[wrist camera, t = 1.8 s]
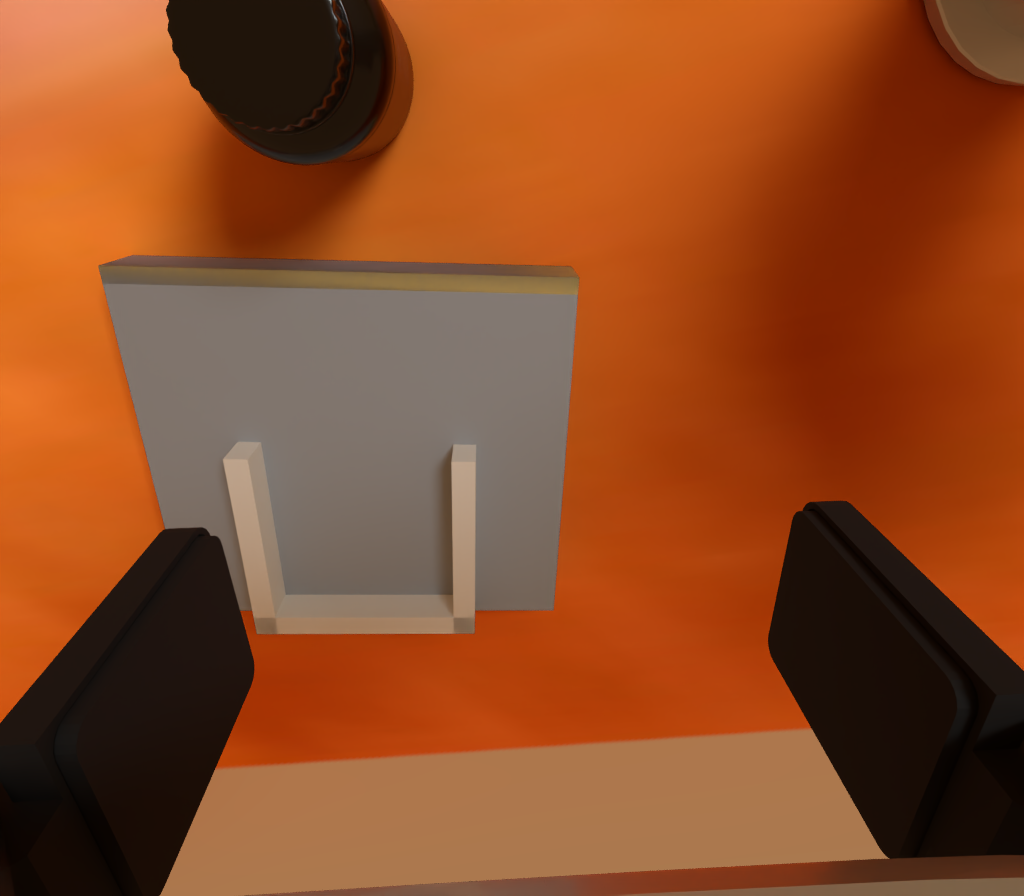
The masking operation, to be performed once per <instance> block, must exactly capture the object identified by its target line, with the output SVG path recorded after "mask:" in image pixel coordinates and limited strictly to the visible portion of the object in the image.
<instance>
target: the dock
mask: <svg viewBox="0 0 1024 896" xmlns="http://www.w3.org/2000/svg"><path fill="white" fill-rule="evenodd" d="M98 267H99V271H100V275H101V279H102V283H103V286H104V290H105V294H106V298H107V302H108V306H109V310H110V314H111V318H112V322H113V326H114V330H115V334H116V337H117V341H118V345H119V349H120V353H121V357H122V361H123V365H124V369H125V373H126V377H127V381H128V385H129V389H130V392H131V396H132V400H133V404H134V408H135V412H136V416H137V420H138V424H139V428H140V432H141V436H142V440H143V443H144V447H145V451H146V455H147V459H148V463H149V467H150V471H151V475H152V479H153V483H154V487H155V491H156V495H157V498H158V502H159V506H160V510H161V514H162V518H163V522H164V526H165V529H169V528H194V527H203V528H205V529H207V531H208V532H209V533H210V536H217V537H219V539H220V540H221V543H222V546H223V550H224V553H225V557H226V561H227V564H228V568H229V572H230V575H231V579H232V583H233V586H234V590H235V594H236V597H237V601H238V605H239V608H240V611H252V612H253V617H254V622H255V627H256V632H257V634H475V610H554V598H555V585H556V572H557V559H558V546H559V533H560V520H561V507H562V494H563V481H564V468H565V455H566V442H567V429H568V416H569V403H570V390H571V377H572V364H573V351H574V338H575V325H576V312H577V299H578V286H579V277H578V275H577V274H576V272H575V271H574V270H573V268H572V267H571V266H533V265H494V264H455V263H415V262H376V261H337V260H297V259H258V258H219V257H179V256H140V255H132V256H128V257H125V258H122V259H119V260H115V261H112V262H109V263H106V264H102V265H99V266H98Z"/></svg>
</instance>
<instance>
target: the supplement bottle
mask: <svg viewBox="0 0 1024 896" xmlns="http://www.w3.org/2000/svg"><path fill="white" fill-rule="evenodd" d="M166 12H167V16H168V19H169V23H168V32H169V34H170V36H171V38H172V42H173V44H172V48H173V51H174V53H175V54H176V56H177V57H178V58H179V64H180V68H181V70H182V71H183V72H184V73H185V74H186V75H187V76H188V78H189V81H190V84H191V86H192V87H193V88H195V89H196V90H198V91H199V92H200V94H201V96H202V98H203V100H204V101H205V103H206V104H207V105H208V107H209V108H210V110H211V111H212V113H213V114H214V115H215V117H216V118H217V119H218V120H219V122H220V123H221V124H222V125H223V126H224V127H225V128H226V129H227V130H228V131H229V132H230V133H231V134H232V135H234V136H235V137H236V138H237V139H238V140H240V141H241V142H242V143H243V144H245V145H246V146H248V147H249V148H251V149H253V150H254V151H256V152H258V153H260V154H262V155H264V156H267V157H269V158H271V159H274V160H278V161H281V162H285V163H290V164H297V165H320V164H328V163H336V162H345V161H353V160H357V159H361V158H365V157H368V156H370V155H372V154H375V153H377V152H378V151H380V150H381V149H383V148H384V147H385V146H387V145H388V144H389V143H390V142H391V141H392V140H393V139H394V138H395V136H396V135H397V134H398V133H399V131H400V130H401V128H402V126H403V124H404V123H405V121H406V118H407V116H408V113H409V110H410V107H411V102H412V97H413V81H414V80H413V68H412V62H411V58H410V54H409V51H408V48H407V45H406V42H405V40H404V38H403V35H402V33H401V32H400V30H399V28H398V26H397V24H396V22H395V21H394V19H393V18H392V16H391V15H390V13H389V12H388V10H387V8H386V7H385V5H384V4H383V2H382V1H381V0H169V3H168V5H167V8H166Z"/></svg>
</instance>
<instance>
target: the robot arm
mask: <svg viewBox="0 0 1024 896" xmlns="http://www.w3.org/2000/svg"><path fill="white" fill-rule="evenodd" d="M924 4H925V8H926V12H927V17H928V20H929V22H930V24H931V26H932V28H933V30H934V32H935V34H936V36H937V39H938V41H939V43H940V44H941V45H942V46H943V48H944V49H945V50H946V51H947V52H948V54H949V55H950V56H951V57H952V59H953V60H954V61H955V62H956V63H958V64H959V65H960V66H962V67H963V68H965V69H966V70H967V71H969V72H970V73H972V74H973V75H974V76H977V77H980V78H983V79H985V80H988V81H991V82H994V83H996V84H1006V85H1016V86H1024V0H924ZM768 645H769V651H770V654H771V657H772V659H773V661H774V663H775V664H776V666H777V668H778V670H779V672H780V673H781V675H782V677H783V679H784V680H785V682H786V684H787V686H788V687H789V689H790V691H791V693H792V694H793V696H794V698H795V700H796V702H797V703H798V705H799V707H800V709H801V710H802V712H803V714H804V716H805V717H806V719H807V721H808V723H809V724H810V726H811V728H812V730H813V731H814V733H815V735H816V737H817V739H818V740H819V742H820V744H821V746H822V747H823V749H824V751H825V753H826V754H827V756H828V758H829V760H830V761H831V763H832V765H833V767H834V769H835V770H836V772H837V774H838V776H839V777H840V779H841V781H842V783H843V784H844V786H845V788H846V790H847V791H848V793H849V795H850V797H851V798H852V800H853V802H854V804H855V806H856V807H857V809H858V811H859V812H860V814H861V816H862V818H863V820H864V821H865V823H866V825H867V827H868V828H869V830H870V832H871V834H872V836H873V837H874V839H875V840H876V843H877V844H878V846H879V848H880V849H881V850H882V852H883V853H884V854H885V855H886V856H887V857H888V858H890V859H871V860H851V861H832V862H831V861H830V862H811V863H792V864H773V865H754V866H735V867H716V868H698V869H697V868H696V869H678V870H659V871H642V872H624V873H608V874H590V875H573V876H555V877H538V878H520V879H504V880H487V881H469V882H452V883H435V884H419V885H403V886H387V887H373V888H356V889H340V890H324V891H309V892H293V893H279V894H278V893H277V894H262V895H246V896H1024V671H1023V670H1022V669H1021V668H1020V667H1019V666H1018V665H1017V664H1016V663H1015V662H1014V661H1013V660H1012V659H1011V658H1010V657H1009V656H1008V655H1007V654H1006V653H1004V652H1003V651H1002V650H1001V649H1000V648H999V647H998V646H997V645H996V644H995V643H994V642H993V641H992V640H991V639H990V638H989V637H988V636H987V635H986V634H985V633H984V632H983V631H982V630H981V629H980V628H979V627H978V626H977V625H976V624H974V623H973V622H972V621H971V620H970V619H969V618H968V617H967V616H966V615H965V614H964V613H963V612H962V611H961V610H960V609H959V608H958V607H957V606H956V605H955V604H954V603H953V602H952V601H951V600H950V599H949V598H948V597H947V596H945V595H944V594H943V593H942V592H941V591H940V590H939V589H938V588H937V587H936V586H935V585H934V584H933V583H932V582H931V581H930V580H929V579H928V578H927V577H926V576H925V575H924V574H923V573H922V572H921V571H920V570H919V569H918V568H917V567H915V566H914V565H913V564H912V563H911V562H910V561H909V560H908V559H907V558H906V557H905V556H904V555H903V554H902V553H901V552H900V551H899V550H898V549H897V548H896V547H895V546H894V545H893V544H892V543H891V542H890V541H889V540H888V539H886V538H885V537H884V536H883V535H882V534H881V533H880V532H879V531H878V530H877V529H876V528H875V527H874V526H873V525H872V524H871V523H870V522H869V521H868V520H867V519H866V518H865V517H864V516H863V515H862V514H861V513H860V512H859V511H858V510H856V509H855V508H854V507H853V506H852V505H851V504H850V503H848V502H847V501H824V502H809V503H808V504H806V505H805V507H804V508H803V511H798V512H796V513H795V515H794V517H793V520H792V525H791V529H790V534H789V539H788V544H787V549H786V554H785V558H784V563H783V568H782V573H781V578H780V582H779V587H778V592H777V597H776V602H775V607H774V611H773V616H772V621H771V626H770V631H769V636H768ZM253 677H254V660H253V656H252V652H251V649H250V645H249V641H248V638H247V634H246V630H245V627H244V623H243V619H242V616H241V612H240V608H239V605H238V601H237V597H236V594H235V590H234V586H233V583H232V579H231V575H230V572H229V568H228V564H227V561H226V557H225V553H224V550H223V546H222V543H221V540H220V539H219V537H217V536H210V533H209V532H208V531H207V529H205V528H203V527H194V528H169V529H164V530H163V531H162V532H161V533H160V534H159V535H158V536H157V537H156V538H155V540H154V541H153V542H152V543H151V544H150V545H149V547H148V548H147V549H146V550H145V551H144V553H143V554H142V555H141V556H140V557H139V559H138V560H137V561H136V562H135V563H134V565H133V566H132V567H131V568H130V569H129V570H128V572H127V573H126V574H125V575H124V576H123V578H122V579H121V580H120V581H119V582H118V584H117V585H116V586H115V587H114V588H113V590H112V591H111V592H110V593H109V594H108V595H107V597H106V598H105V599H104V600H103V601H102V603H101V604H100V605H99V606H98V607H97V609H96V610H95V611H94V612H93V613H92V615H91V616H90V617H89V618H88V619H87V620H86V622H85V623H84V624H83V625H82V626H81V628H80V629H79V630H78V631H77V632H76V634H75V635H74V636H73V637H72V638H71V640H70V641H69V642H68V643H67V644H66V646H65V647H64V648H63V649H62V650H61V651H60V653H59V654H58V655H57V656H56V657H55V659H54V660H53V661H52V662H51V663H50V665H49V666H48V667H47V668H46V669H45V671H44V672H43V673H42V674H41V675H40V676H39V678H38V679H37V680H36V681H35V682H34V684H33V685H32V686H31V687H30V688H29V690H28V691H27V692H26V693H25V694H24V696H23V697H22V698H21V699H20V700H19V701H18V703H17V704H16V705H15V706H14V707H13V709H12V710H11V711H10V712H9V713H8V715H7V716H6V717H5V718H4V719H3V721H2V722H1V723H0V896H159V895H160V894H161V892H162V890H163V888H164V886H165V883H166V881H167V879H168V877H169V874H170V872H171V870H172V867H173V865H174V863H175V861H176V858H177V856H178V854H179V851H180V849H181V847H182V844H183V842H184V840H185V837H186V835H187V833H188V830H189V828H190V826H191V824H192V821H193V819H194V817H195V814H196V812H197V810H198V807H199V805H200V802H201V800H202V798H203V796H204V793H205V791H206V789H207V786H208V784H209V782H210V779H211V777H212V775H213V773H214V770H215V768H216V766H217V763H218V761H219V759H220V756H221V754H222V752H223V749H224V747H225V745H226V742H227V740H228V738H229V735H230V733H231V731H232V729H233V726H234V724H235V722H236V719H237V717H238V715H239V712H240V710H241V708H242V705H243V703H244V701H245V698H246V696H247V694H248V691H249V689H250V687H251V684H252V681H253Z"/></svg>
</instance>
